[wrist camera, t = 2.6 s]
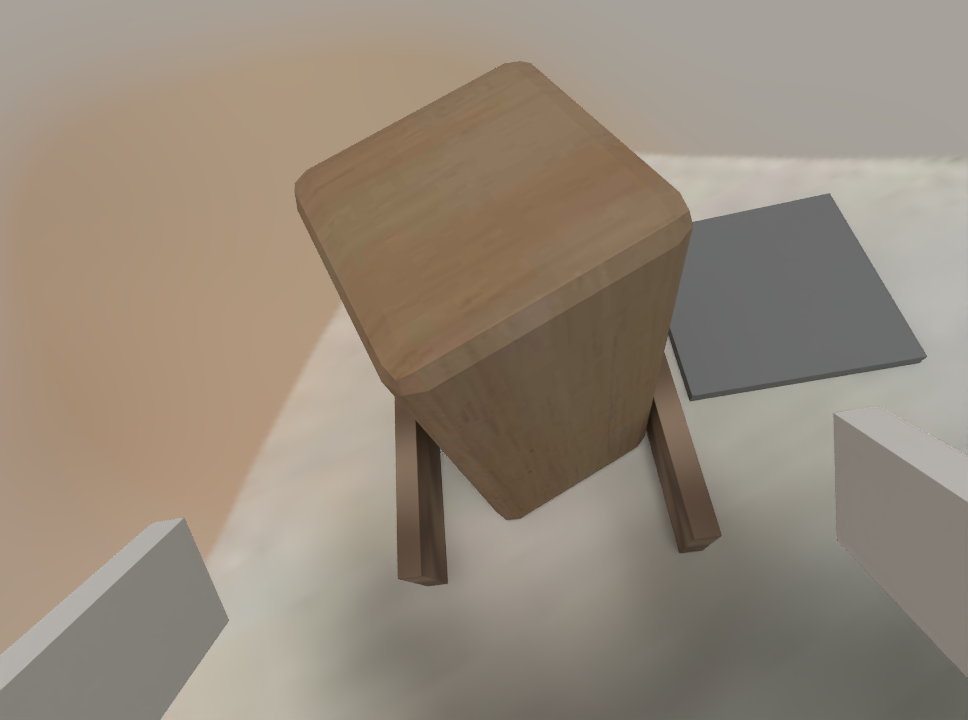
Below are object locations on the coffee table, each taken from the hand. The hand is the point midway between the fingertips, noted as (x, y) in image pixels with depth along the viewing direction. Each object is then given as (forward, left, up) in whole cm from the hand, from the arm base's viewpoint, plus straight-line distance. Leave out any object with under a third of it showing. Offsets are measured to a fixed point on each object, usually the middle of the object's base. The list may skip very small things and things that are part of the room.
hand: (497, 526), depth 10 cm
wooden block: (+10, 0, -20) cm, 23 cm away
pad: (+16, -16, -20) cm, 31 cm away
